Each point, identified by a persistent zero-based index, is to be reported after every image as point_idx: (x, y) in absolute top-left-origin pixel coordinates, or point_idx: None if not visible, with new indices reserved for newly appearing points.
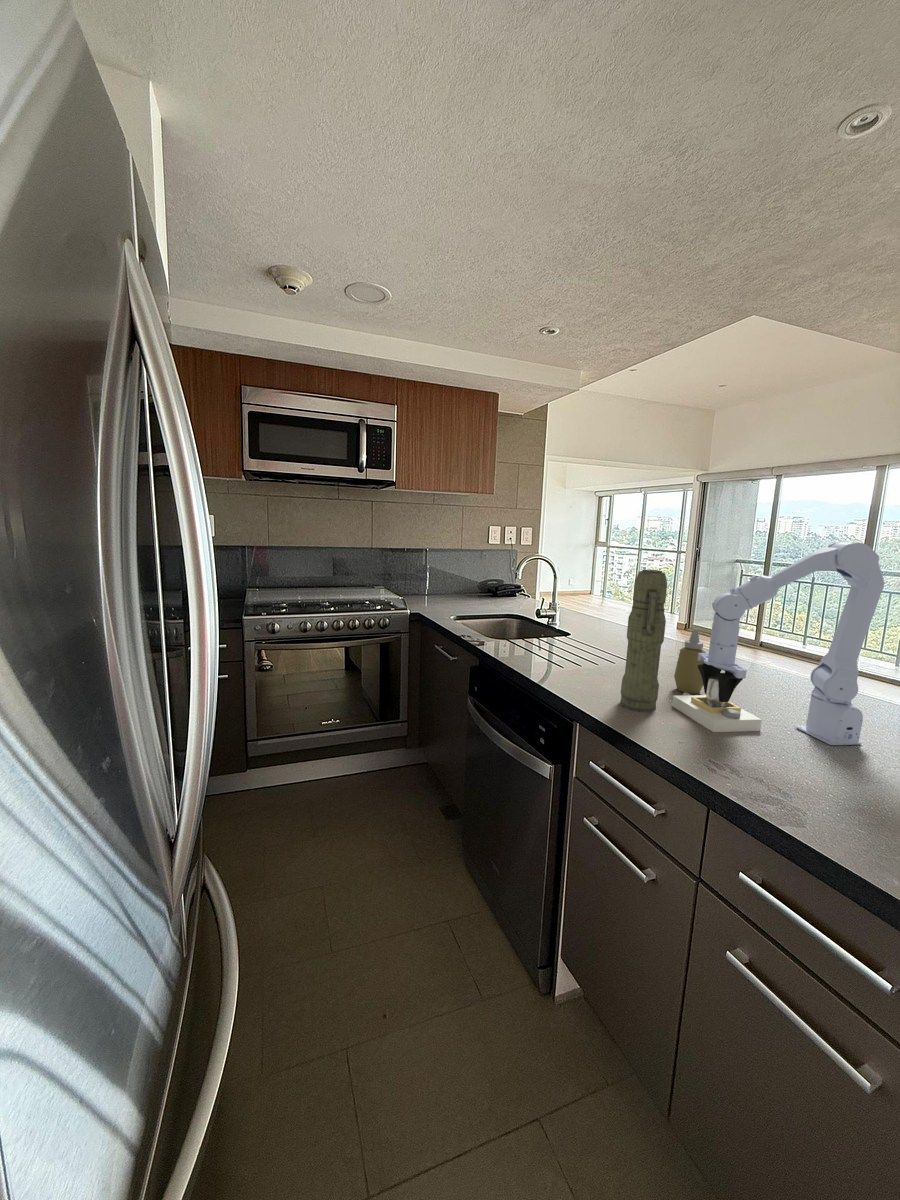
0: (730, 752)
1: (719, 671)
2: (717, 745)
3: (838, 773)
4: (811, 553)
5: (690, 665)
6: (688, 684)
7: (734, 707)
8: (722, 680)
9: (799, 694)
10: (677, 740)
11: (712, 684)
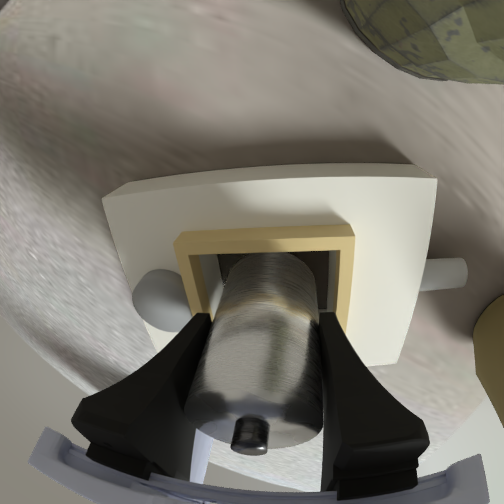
0: (23, 165)
1: (322, 468)
2: (46, 147)
3: (29, 318)
4: None
5: None
6: (499, 325)
7: None
8: (102, 394)
9: None
10: (63, 34)
11: (226, 362)
